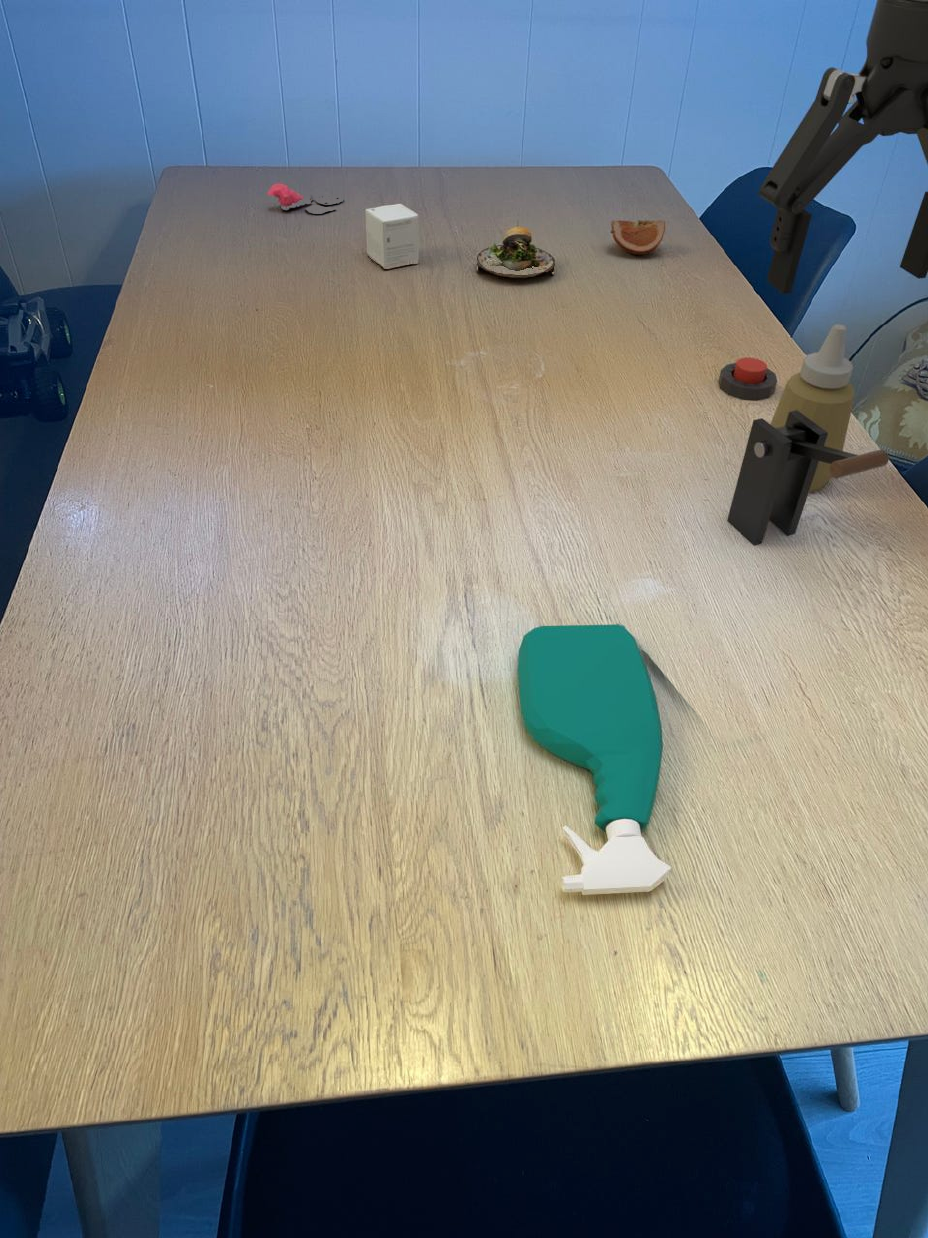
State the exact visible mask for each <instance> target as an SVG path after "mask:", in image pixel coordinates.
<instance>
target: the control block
mask: <svg viewBox="0 0 928 1238" xmlns="http://www.w3.org/2000/svg"><path fill="white" fill-rule="evenodd" d="M735 366H736V362H733V363H729V364H726V365H725V366H724V367H723V368H721V369H720V373H719V377H718V387H719V389H720V390H721V391H722V392H723V393H725V394H726V395H727V396H730V397H732V398H736V399H738V400H742V401H754V402H757V401H762V400H767V399H769V398H771V397H772V395H773V394H774V393H775V391H776V387H777V384H778V378H777V374H776V373H775V372H774V371H773V370H771V369H769V368H768V367H767V370H766V373H765V377H764V381H763V382H762V383H758V384H750V383H744V382H741V381H738V380H736V379H735V378H734V376H733V375H734V370H735Z"/></svg>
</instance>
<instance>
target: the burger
mask: <svg viewBox="0 0 928 1238" xmlns="http://www.w3.org/2000/svg"><path fill="white" fill-rule="evenodd" d="M517 215H519V213H518V214H517ZM516 225H517V226H515V227H512V228H510V229H508V230H507V231H506V232H505V233H504V234H503V236H502V244H498V245H497V244H496V243H493V246H490V247H489V246H488V247H487V248H484V249H482V250H481V251H480V252H479V253H478V254H477V255H476V265H477V266H478V269H479V270H480V268H481V269H482V270H484V271H486V272H489V273H491V274H494V275H496V276H500V277H504V278H506V277H508V278H515V279H516V278H518V279H519V278H524V279H525V278H531V277H532V278H533V277H535V276H538V275H540V274H544V273H545V272H546V273H548V272H549V271H552V272H554V271H555V270H554V266H555V267H556V260H555V258H554V257H553V255H551V254H550V253H549V252H547V251H545V250H543V249H541V248H538V247H536V245H535V244H533V243H532V241H533V239H532V238H533V237H532V233H531V232H530V230H529V229H527V228H526V227H522V226H519V221H517V223H516ZM531 243H532V244H531ZM494 255H495V256H496V257H497V258H498V259H499V260H500V261H501V262H502V263H500V262H498V261H497V260H495V261H492V260H489V258H491V257H494ZM494 259H495V258H494ZM494 259H493V260H494ZM488 260H489V261H492V262H491V263H489V264H492V265H490V266H504V267H506V268H508V269H509V270H515V271H520V270H524V269H526V268H532V266H534V267H539V266H541V267H542V266H545V268H541V269H545V270H541V269H538V270H535V271H539V270H541V272H539V273H533V272H532V273H533V274H531V273H530V274H528V275H524V274H522V275H515V274H503V273H497V272H494V271H491V270H489V269H486V268H485V267H484V266H489V265H487V264H488V262H487V263H486V261H488ZM498 263H499V264H498ZM552 268H553V269H552ZM532 269H533V268H532ZM525 274H527V273H525Z"/></svg>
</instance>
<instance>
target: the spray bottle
mask: <svg viewBox="0 0 928 1238" xmlns="http://www.w3.org/2000/svg"><path fill="white" fill-rule="evenodd" d="M640 650H641V649H640V648H639V645H638V643H637V641H636V638H635V636H633V634H632V633H630V631H629V630H628V629H627V628H626V627H625V626H624V625H620V624H616V623H615V624H575V625H571V624H569V625H568V624H567V625H565V624H563V625H541V626H537V627H534V628H532V629H531V630H529V631H528V632H527V633H525V634H523V636H522V640H521V642H520V646H519V648H518V657H517V658H518V660H517V679H518V692H519V704H520V713H521V716H522V720H523V724H524V727H525V729H526V730H527V732H528V734H529V735H530V736H531V738H532V739H533V741H535V742H536V743H537V744H539V745H540V746H541V747H543V748H544V749H546V750H547V751H548V752H550V753H551V754H552V755H554V756H556V757H558V758H559V759H562V760H564V761H566V762H568V763H570V764H573V765H575V766H578V767H579V768H583V769H587V770H589V771H590V773H591V774H592V775H593V778H592V779H593V781H592V783H593V785H594V786H595V787H596V790H595V793H594V801H595V803H596V804H597V806H598V808H599V809H598V811H597V813H596V815H595V818H594V825H595V826H596V827H598V828H599V829H600V830H601V831H602V832H604V833H605V834H606V836H607V841H606V842H605V843H604V844H603V846H602V847H601V848H600V850H596V849H594V848H591V847H590V846H589V845H588V844H587V843H586V842H585V841H584V840H583V839H582V838H581V837H580V836H579V835H578V834H577V833H576V832H575V831H573V829H571V828H570V827H568V826H567V825H566V824H564V825H563V826H562V827H561V831H562V832H563V834H564V835H565V837H566V838H567V840H568V841H569V843H570V844H571V846H572V847H573V848H574V850H575V851H576V853H577V854H578V855H579V859H580V861H581V863H582V864H581V865H582V866H581V869H580V874H571V875H565V876H561V881H560V882H561V889H562V892H563V893H581V894H582V896H586V895H588V896H589V895H607V894H625V893H626V894H627V893H629V894H630V893H645V892H646V893H648V892H651V891H653V890H654V889H655V888H657V887H658V886H659V885H661V884H662V883H663V882H665V881H666V880H667V879H669V876H670V875H669V874H670V872H671V869H672V867H671V866H670V865H669V864H667V863H666V862H664V861H662V860H660V859H659V858H658V857H657V856H656V855H655V853H654V852H653V851H652V850H651V849H650V848H649V845H648V844H647V842H646V839H645V838H644V837H643V835H642V831H643V830H645V829H646V828H647V827H648V824H649V822H650V819H651V816H652V811H653V809H654V805H655V801H656V796H657V790H658V785H659V781H660V774H661V765H662V756H663V748H664V745H663V743H664V742H663V728H662V722H661V716H660V710H659V705H658V700H657V699H658V698H657V695H656V692H655V689H654V686H653V683H652V679H651V676H650V674H649V670H648V667H647V665H646V662H645V660H644V657H643V655H642V652H641V651H640Z"/></svg>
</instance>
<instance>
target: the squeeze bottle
mask: <svg viewBox="0 0 928 1238" xmlns="http://www.w3.org/2000/svg"><path fill="white" fill-rule="evenodd" d="M846 333H847V326H846V325H843V324H839V323H835V324H834V325H833V326H832V327H831V329H830V331H829V333H828V334H827V336H826V338H825V340H824V341H823V344H821V345H822V346H821V347H820V349H819V350H818V352H816V351H815V352H812V353H809V354H806V355H805V357H804V358H803V362H802V363H801V367H800V371H799V372H798V373H794V374H793V375H791V376H790V377H789V379H788V380H787V382H786V384H785V386H784V389H783V392H782V394H781V396H780V399H779V401H778V404H777V407H776V408H775V411H774V413H773V417H772V419H771V421H770V423H769V424H770V425H772V426H773V427H774V428H779V427H783V426H785V424H786V420H787V417H788V413H789V412H791V411H795V410H798V411H799V412H800V413H802V414H803V415H805V416H806V417H807V418H809V419H810V420H811V421H813V422H814V423H815V424H817V425H818V426H819V427H821V428H822V429H824V430H825V431H826V432H828V435H827V438H826V441H825V444H824V446H825V447H829V448H833V449H837V450H840V451H844V446H845V442H846V438H847V432H848V428H849V424H850V419H851V415H852V410H853V405H854V402H855V401H854V400H855V396H856V391H855V388H854V387H853V385H852V384H851V383H850V379H851V376H852V373H853V371H854V366H853V362H851V361H850V360H849V359H848V358H846V357H845V350H846V349H845V347H846V335H847V334H846ZM830 465H831V464H828V463H825V462H821V461H819V463H818V466H817V469H816V472H815V475H814V478H813V481H812V484H811V487H810V490H809V493H815V492H817V491H819V490H821V489H823V488H824V487H825V485H826V484H827V483H828V482H829V481H830V480H831V478H832V477H833V476H832V475H831V473H830Z"/></svg>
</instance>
